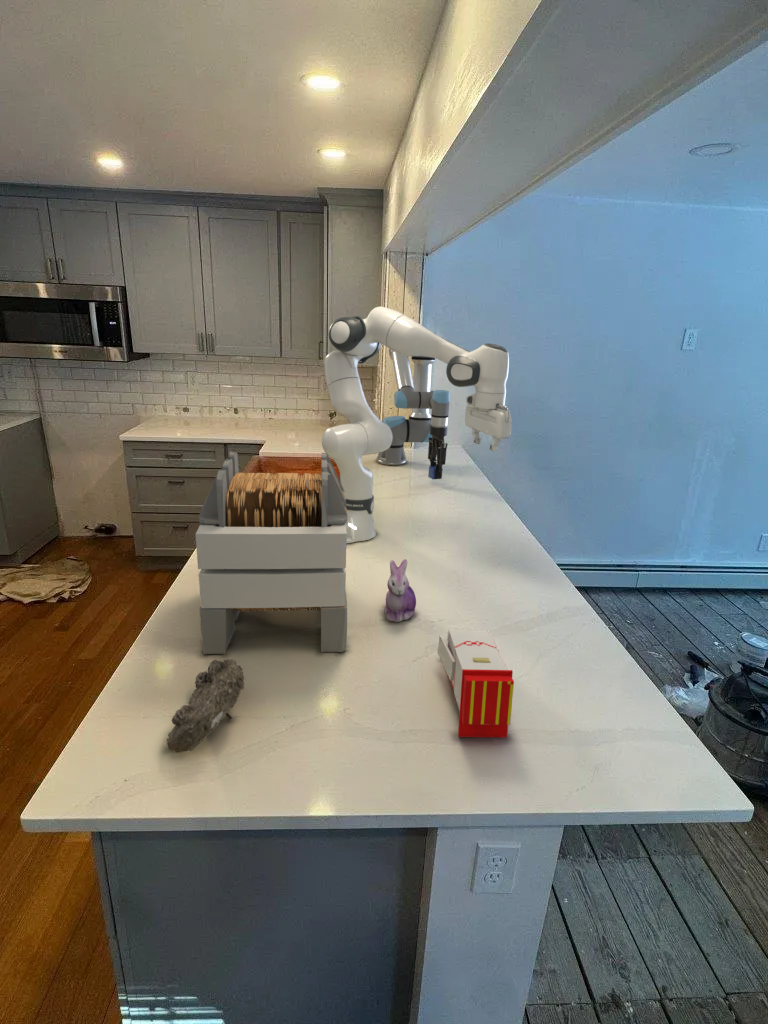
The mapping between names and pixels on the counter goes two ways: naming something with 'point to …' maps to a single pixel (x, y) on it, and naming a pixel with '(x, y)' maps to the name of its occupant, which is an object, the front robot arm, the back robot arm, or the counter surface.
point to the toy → (478, 682)
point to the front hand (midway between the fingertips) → (484, 447)
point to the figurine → (399, 594)
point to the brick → (433, 472)
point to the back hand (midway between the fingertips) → (435, 477)
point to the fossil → (206, 705)
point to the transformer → (272, 550)
